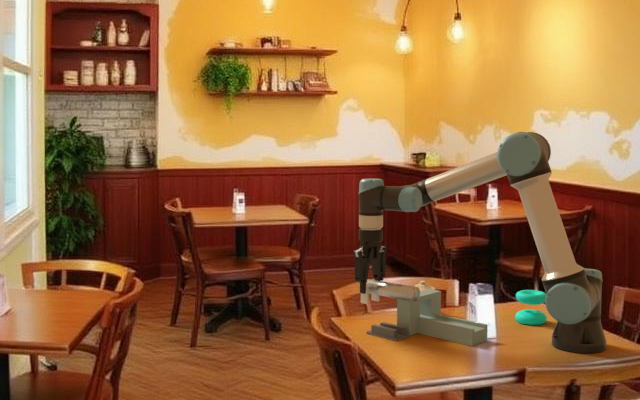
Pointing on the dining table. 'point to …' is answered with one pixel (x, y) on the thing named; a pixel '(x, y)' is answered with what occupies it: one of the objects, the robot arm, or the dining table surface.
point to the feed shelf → (453, 329)
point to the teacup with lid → (424, 286)
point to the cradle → (389, 331)
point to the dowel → (393, 290)
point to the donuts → (531, 315)
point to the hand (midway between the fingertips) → (370, 301)
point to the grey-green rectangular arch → (418, 309)
